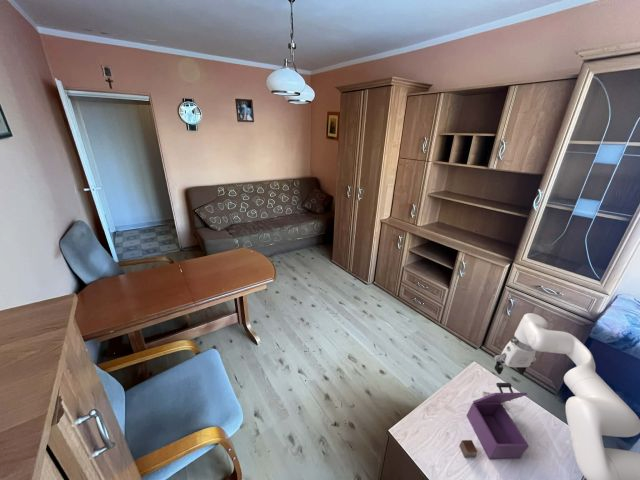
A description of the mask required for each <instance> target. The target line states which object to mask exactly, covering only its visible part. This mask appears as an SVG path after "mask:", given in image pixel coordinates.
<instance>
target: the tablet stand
mask: <svg viewBox="0 0 640 480" xmlns="http://www.w3.org/2000/svg"><path fill="white" fill-rule="evenodd" d="M493 393H494V392H490V391H483V392H482V397H485V396H488V395H490V394H493ZM509 402H512V400H510V401H509ZM501 404H502V405H503V406H504V405H505V402H503V403H501Z"/></svg>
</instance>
